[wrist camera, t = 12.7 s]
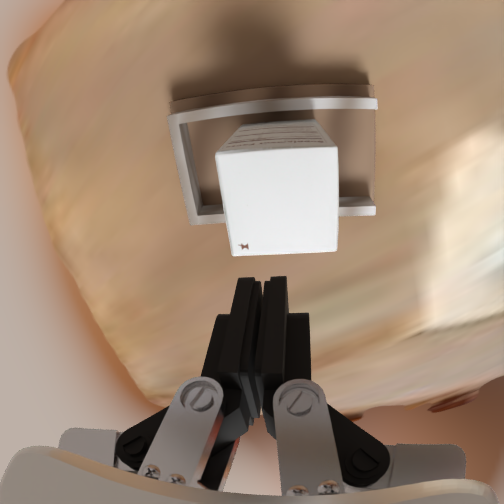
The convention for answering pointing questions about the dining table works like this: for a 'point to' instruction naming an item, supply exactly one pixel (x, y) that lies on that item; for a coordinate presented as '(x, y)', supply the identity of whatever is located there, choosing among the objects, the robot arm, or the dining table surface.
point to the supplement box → (280, 188)
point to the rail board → (270, 110)
